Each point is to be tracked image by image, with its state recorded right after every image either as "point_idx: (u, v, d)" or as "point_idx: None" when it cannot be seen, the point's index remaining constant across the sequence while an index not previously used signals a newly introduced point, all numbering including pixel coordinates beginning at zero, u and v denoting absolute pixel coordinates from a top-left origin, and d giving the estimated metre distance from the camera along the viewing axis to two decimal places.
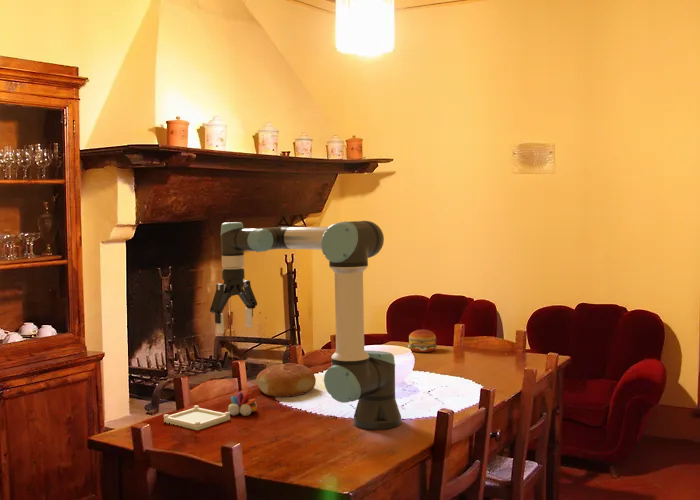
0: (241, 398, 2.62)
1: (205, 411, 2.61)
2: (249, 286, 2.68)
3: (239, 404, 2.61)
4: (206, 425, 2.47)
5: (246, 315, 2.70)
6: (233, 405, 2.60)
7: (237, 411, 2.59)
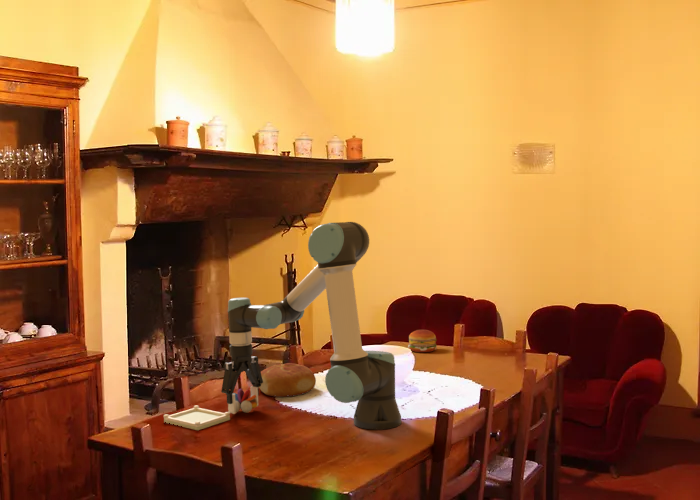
0: (241, 395, 2.62)
1: (205, 411, 2.61)
2: (257, 363, 2.66)
3: (240, 400, 2.60)
4: (206, 425, 2.47)
5: (252, 393, 2.67)
6: None
7: (238, 408, 2.59)
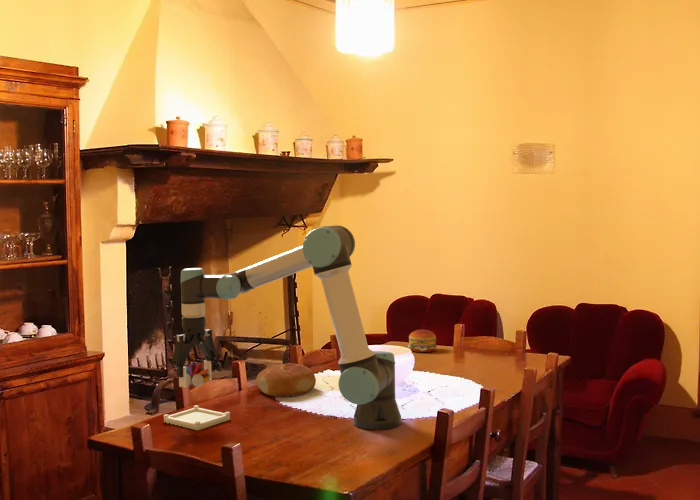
0: (193, 368, 2.53)
1: (205, 411, 2.61)
2: (210, 336, 2.57)
3: (191, 374, 2.51)
4: (206, 425, 2.47)
5: (205, 368, 2.58)
6: None
7: (189, 381, 2.50)
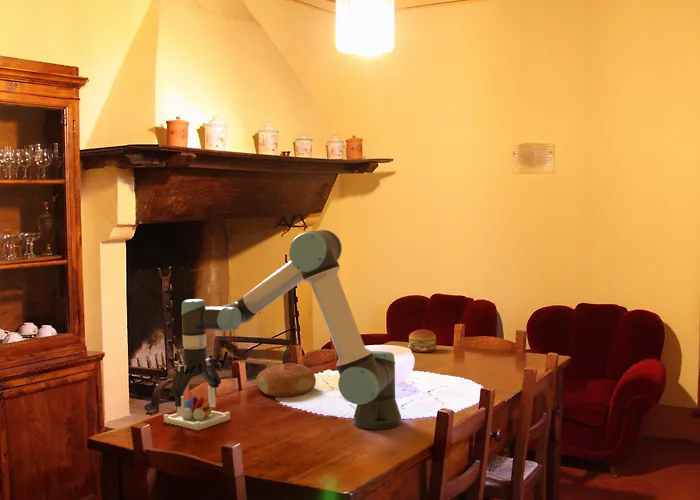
0: (195, 402, 2.54)
1: None
2: (212, 364, 2.58)
3: (192, 408, 2.52)
4: (206, 425, 2.47)
5: (209, 394, 2.59)
6: (186, 409, 2.51)
7: (190, 416, 2.51)
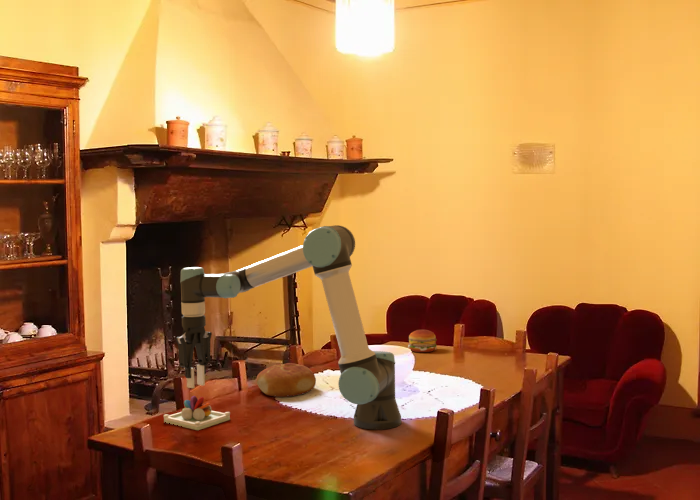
0: (195, 402, 2.54)
1: None
2: (209, 338, 2.56)
3: (192, 408, 2.52)
4: (206, 425, 2.47)
5: (198, 372, 2.55)
6: (186, 409, 2.51)
7: (190, 416, 2.51)
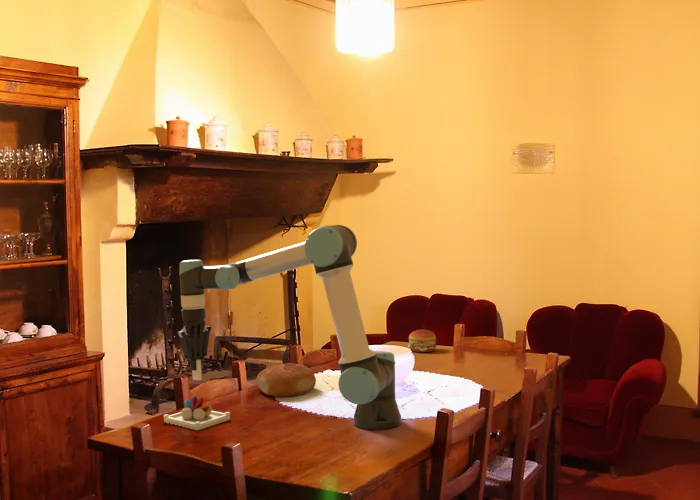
0: (195, 402, 2.54)
1: None
2: (208, 332, 2.56)
3: (192, 408, 2.52)
4: (206, 425, 2.47)
5: None
6: (186, 409, 2.51)
7: (190, 416, 2.51)
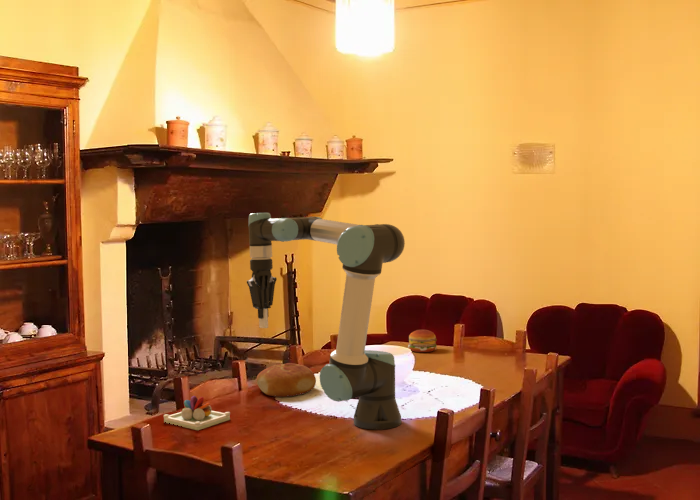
0: (195, 402, 2.54)
1: None
2: (274, 283, 2.67)
3: (192, 408, 2.52)
4: (206, 425, 2.47)
5: None
6: (186, 409, 2.51)
7: (190, 416, 2.51)
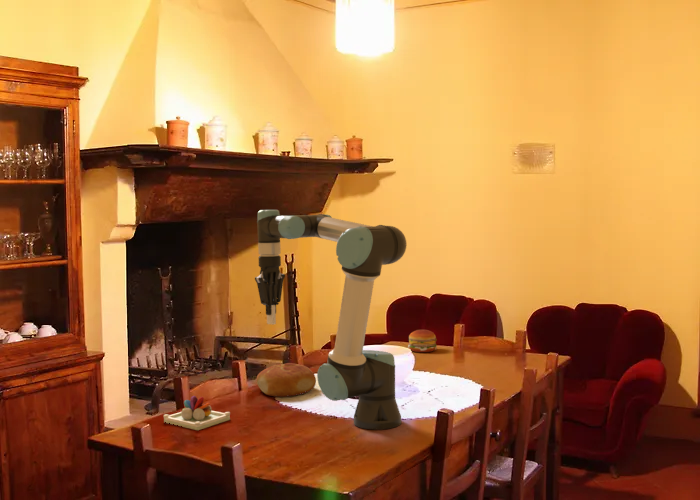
0: (195, 402, 2.54)
1: None
2: (282, 279, 2.68)
3: (192, 408, 2.52)
4: (206, 425, 2.47)
5: None
6: (186, 409, 2.51)
7: (190, 416, 2.51)
